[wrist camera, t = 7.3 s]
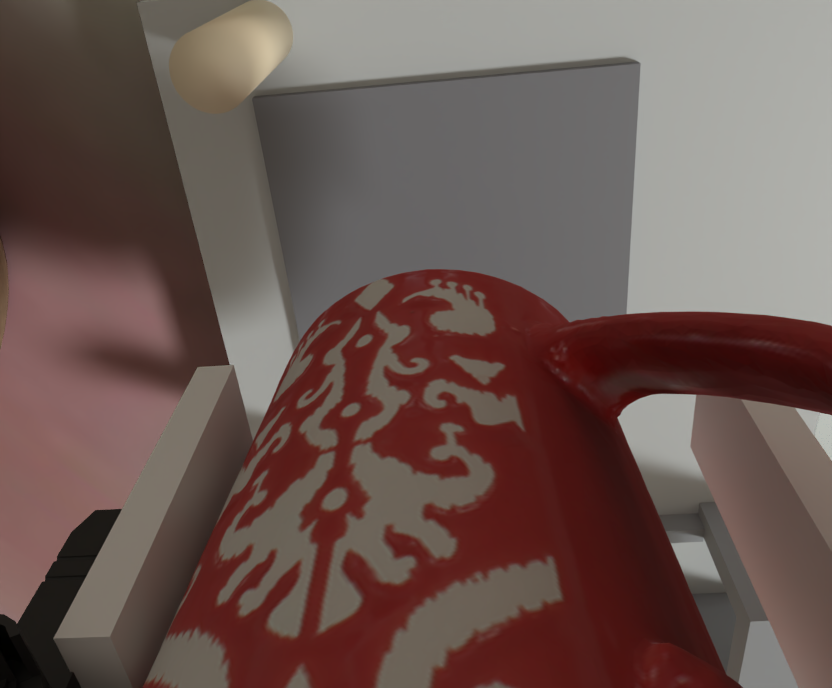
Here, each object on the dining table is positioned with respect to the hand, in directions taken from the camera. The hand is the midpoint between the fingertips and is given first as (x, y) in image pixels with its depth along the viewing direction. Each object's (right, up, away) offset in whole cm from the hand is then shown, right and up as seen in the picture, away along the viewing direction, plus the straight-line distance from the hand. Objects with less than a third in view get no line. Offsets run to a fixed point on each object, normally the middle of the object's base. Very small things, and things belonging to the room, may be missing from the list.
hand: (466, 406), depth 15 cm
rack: (+3, +2, +10) cm, 11 cm away
